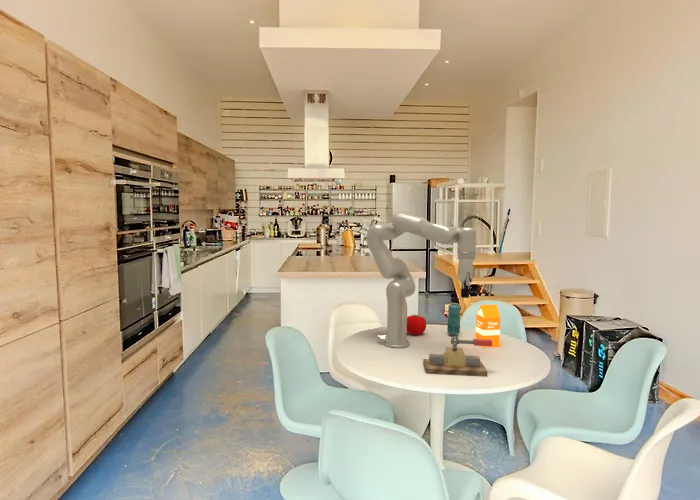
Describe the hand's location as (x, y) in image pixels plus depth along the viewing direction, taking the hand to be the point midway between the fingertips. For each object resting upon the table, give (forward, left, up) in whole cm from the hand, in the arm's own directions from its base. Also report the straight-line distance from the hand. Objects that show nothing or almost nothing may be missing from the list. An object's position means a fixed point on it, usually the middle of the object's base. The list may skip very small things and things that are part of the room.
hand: (464, 297), depth 193 cm
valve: (-6, -16, -25) cm, 30 cm away
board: (-6, -16, -27) cm, 32 cm away
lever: (0, -16, -16) cm, 23 cm away
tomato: (-19, +36, -27) cm, 49 cm away
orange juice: (+15, +21, -27) cm, 38 cm away
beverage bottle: (+1, +36, -27) cm, 45 cm away
